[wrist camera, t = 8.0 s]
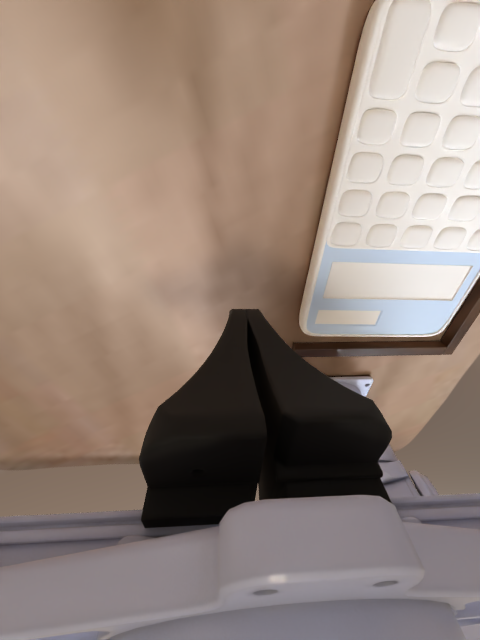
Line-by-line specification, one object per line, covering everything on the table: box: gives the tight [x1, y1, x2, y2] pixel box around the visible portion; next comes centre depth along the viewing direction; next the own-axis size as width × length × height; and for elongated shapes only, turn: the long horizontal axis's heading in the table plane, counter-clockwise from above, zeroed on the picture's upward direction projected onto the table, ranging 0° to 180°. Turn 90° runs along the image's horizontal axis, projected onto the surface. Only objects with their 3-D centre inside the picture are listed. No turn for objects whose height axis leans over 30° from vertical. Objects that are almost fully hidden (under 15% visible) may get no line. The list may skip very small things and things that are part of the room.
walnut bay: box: [292, 278, 480, 357], centre depth 18 cm, size 25×16×1 cm, turn 178°
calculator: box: [299, 0, 480, 337], centre depth 18 cm, size 13×20×2 cm, turn 177°
